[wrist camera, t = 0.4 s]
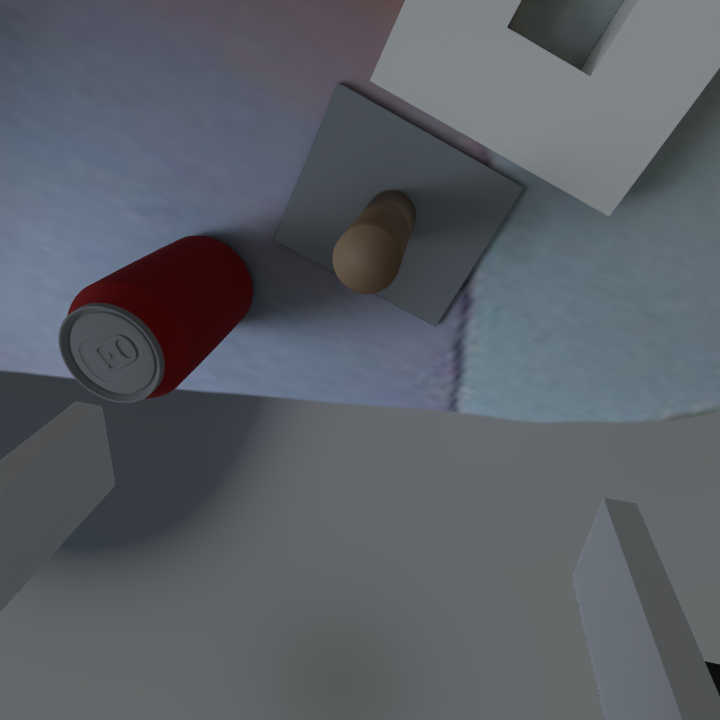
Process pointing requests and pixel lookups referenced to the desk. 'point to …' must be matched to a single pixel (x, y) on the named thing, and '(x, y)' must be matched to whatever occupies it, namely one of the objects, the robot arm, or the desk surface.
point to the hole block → (556, 86)
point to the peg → (375, 243)
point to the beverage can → (155, 319)
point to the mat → (405, 174)
